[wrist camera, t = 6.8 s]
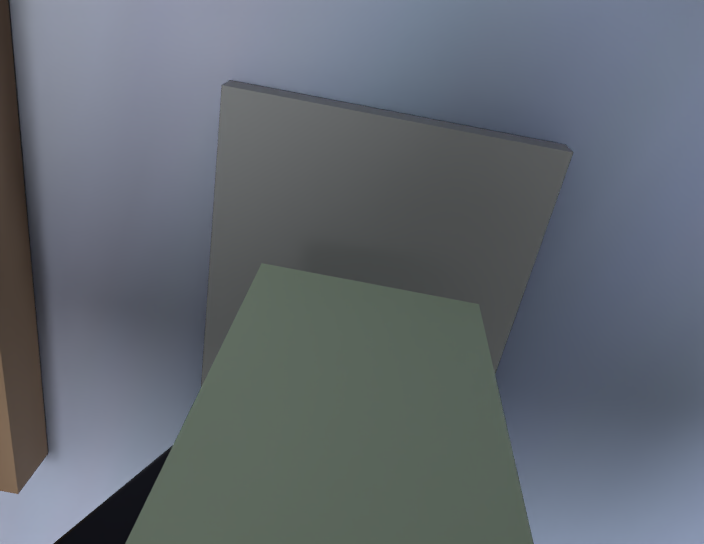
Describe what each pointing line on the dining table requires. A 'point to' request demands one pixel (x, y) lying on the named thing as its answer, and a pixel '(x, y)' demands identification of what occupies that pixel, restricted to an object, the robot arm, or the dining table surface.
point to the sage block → (342, 426)
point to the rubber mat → (375, 204)
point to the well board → (16, 298)
